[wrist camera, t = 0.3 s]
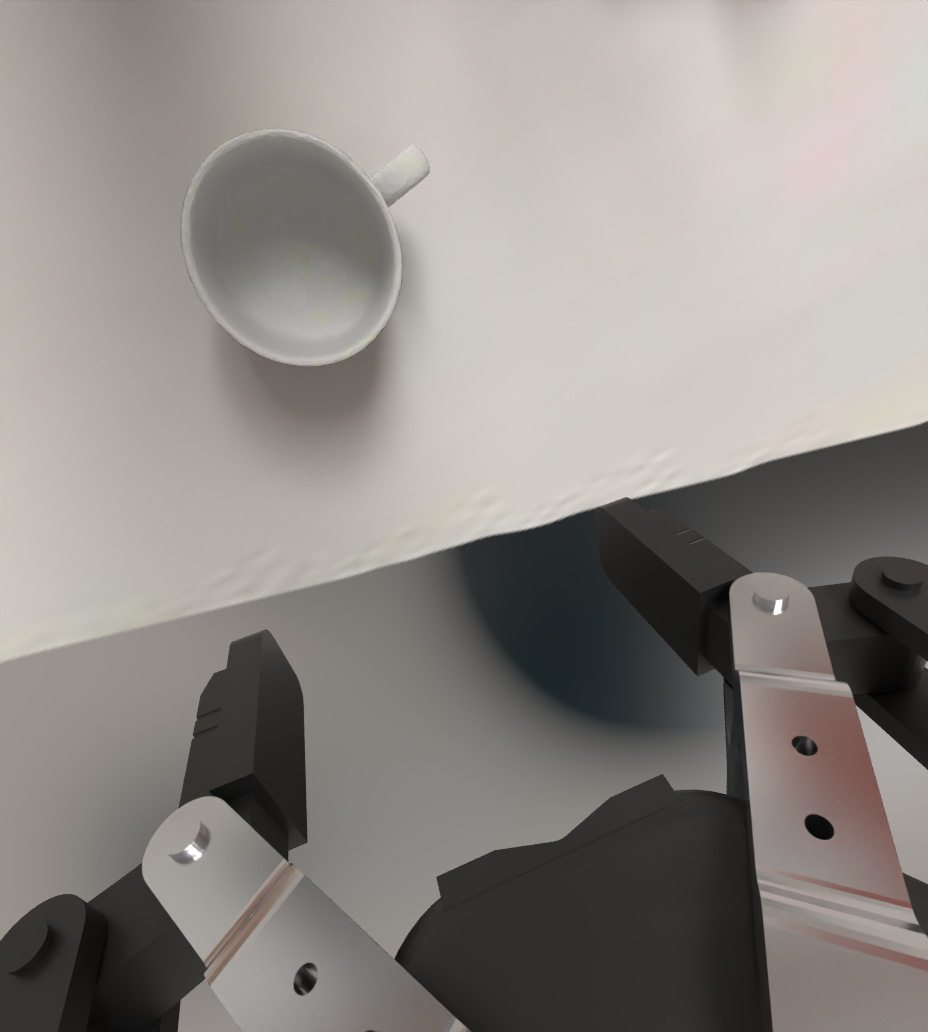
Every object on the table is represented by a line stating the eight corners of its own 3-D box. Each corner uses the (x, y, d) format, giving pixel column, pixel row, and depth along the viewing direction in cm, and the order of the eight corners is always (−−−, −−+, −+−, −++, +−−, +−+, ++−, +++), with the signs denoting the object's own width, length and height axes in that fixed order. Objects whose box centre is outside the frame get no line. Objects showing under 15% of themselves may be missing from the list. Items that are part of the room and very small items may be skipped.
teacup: (270, 370, 35) (266, 401, 29) (161, 199, 30) (123, 188, 23) (448, 279, 36) (485, 288, 29) (376, 94, 30) (400, 53, 23)
